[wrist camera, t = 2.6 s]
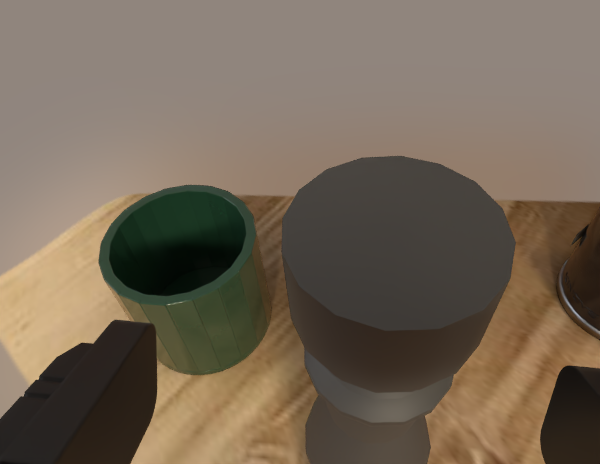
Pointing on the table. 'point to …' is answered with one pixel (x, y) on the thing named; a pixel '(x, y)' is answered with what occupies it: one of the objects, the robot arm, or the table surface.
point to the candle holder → (389, 299)
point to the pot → (190, 276)
